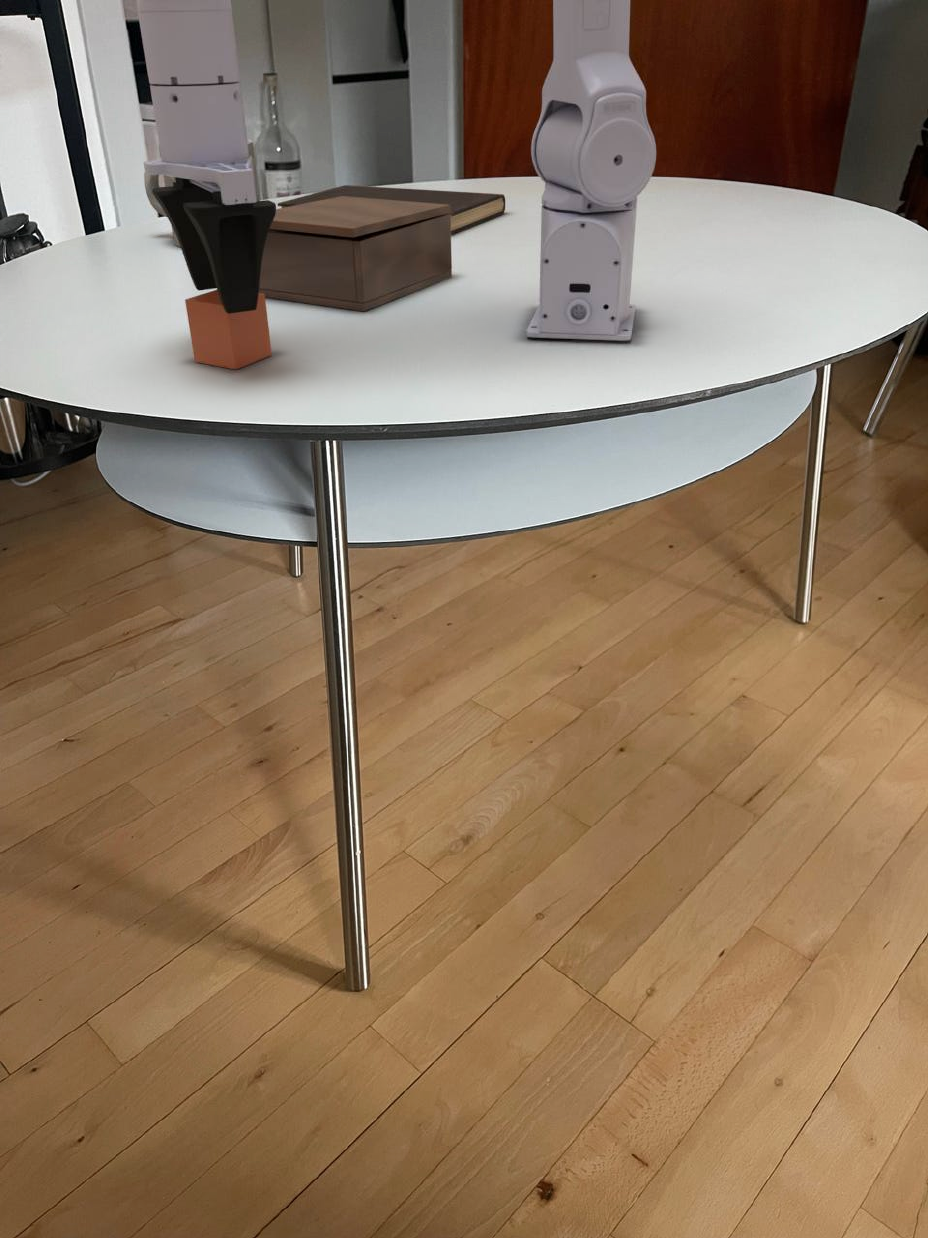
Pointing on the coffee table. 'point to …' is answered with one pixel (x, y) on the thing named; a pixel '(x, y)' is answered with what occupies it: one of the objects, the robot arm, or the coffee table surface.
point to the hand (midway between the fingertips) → (225, 298)
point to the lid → (353, 215)
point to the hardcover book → (422, 201)
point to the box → (356, 264)
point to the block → (227, 332)
